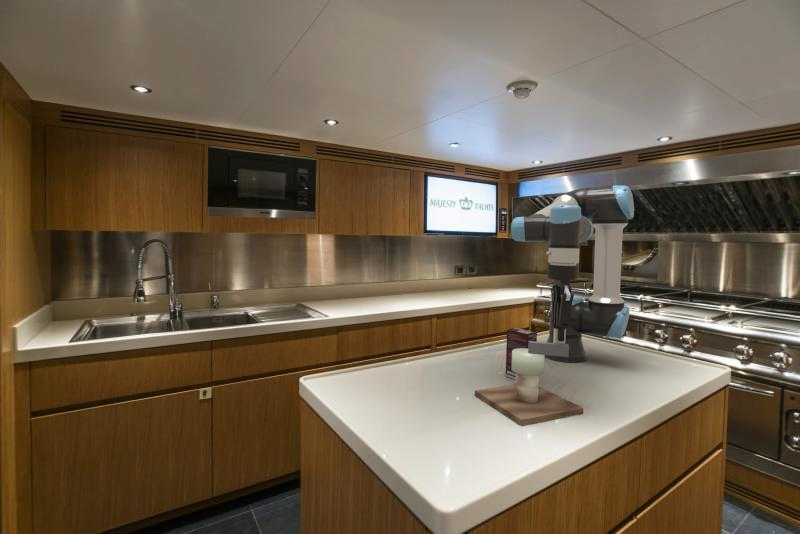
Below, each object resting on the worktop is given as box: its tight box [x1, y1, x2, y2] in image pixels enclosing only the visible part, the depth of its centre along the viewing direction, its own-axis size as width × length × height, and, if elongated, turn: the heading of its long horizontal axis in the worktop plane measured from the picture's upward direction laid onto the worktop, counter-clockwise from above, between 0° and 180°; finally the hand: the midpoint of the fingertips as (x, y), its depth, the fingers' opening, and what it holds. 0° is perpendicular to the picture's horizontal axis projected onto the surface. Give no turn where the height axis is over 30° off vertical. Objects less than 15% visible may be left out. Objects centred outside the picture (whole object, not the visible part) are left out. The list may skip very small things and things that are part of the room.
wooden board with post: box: [474, 373, 584, 427], centre depth 107 cm, size 20×20×9 cm
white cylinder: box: [511, 341, 569, 377], centre depth 106 cm, size 14×8×8 cm, turn 73°
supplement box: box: [505, 327, 538, 381], centre depth 127 cm, size 9×5×16 cm, turn 35°
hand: (558, 351), depth 106 cm, fingers closed
